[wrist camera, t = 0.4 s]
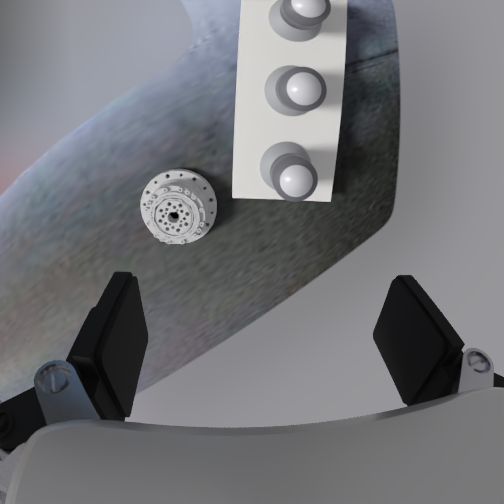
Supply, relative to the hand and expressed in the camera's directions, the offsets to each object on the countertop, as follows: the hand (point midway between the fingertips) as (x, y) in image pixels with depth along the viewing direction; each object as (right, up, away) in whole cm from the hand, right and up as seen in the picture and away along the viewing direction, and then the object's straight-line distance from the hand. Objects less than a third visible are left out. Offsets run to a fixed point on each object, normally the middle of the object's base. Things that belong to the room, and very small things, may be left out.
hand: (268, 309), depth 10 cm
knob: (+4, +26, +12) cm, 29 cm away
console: (+4, +21, +22) cm, 30 cm away
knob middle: (+4, +18, +16) cm, 25 cm away
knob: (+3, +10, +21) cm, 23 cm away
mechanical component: (-10, +8, +28) cm, 31 cm away
